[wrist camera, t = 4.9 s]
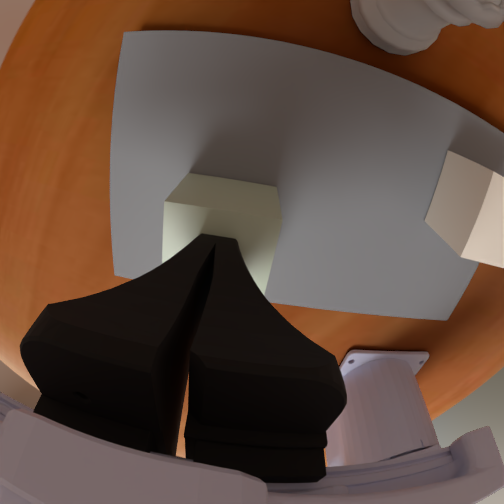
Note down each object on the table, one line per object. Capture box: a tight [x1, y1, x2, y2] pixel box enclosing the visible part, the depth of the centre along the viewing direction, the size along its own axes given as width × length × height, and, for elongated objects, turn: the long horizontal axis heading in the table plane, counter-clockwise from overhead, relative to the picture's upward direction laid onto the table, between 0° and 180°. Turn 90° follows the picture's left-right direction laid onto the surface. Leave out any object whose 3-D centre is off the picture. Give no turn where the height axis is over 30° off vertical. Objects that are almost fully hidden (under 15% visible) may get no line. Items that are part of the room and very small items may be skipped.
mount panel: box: [110, 30, 504, 321], centre depth 13 cm, size 13×22×4 cm, turn 80°
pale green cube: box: [162, 173, 282, 295], centre depth 12 cm, size 4×4×4 cm
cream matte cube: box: [424, 150, 504, 268], centre depth 11 cm, size 4×4×4 cm
